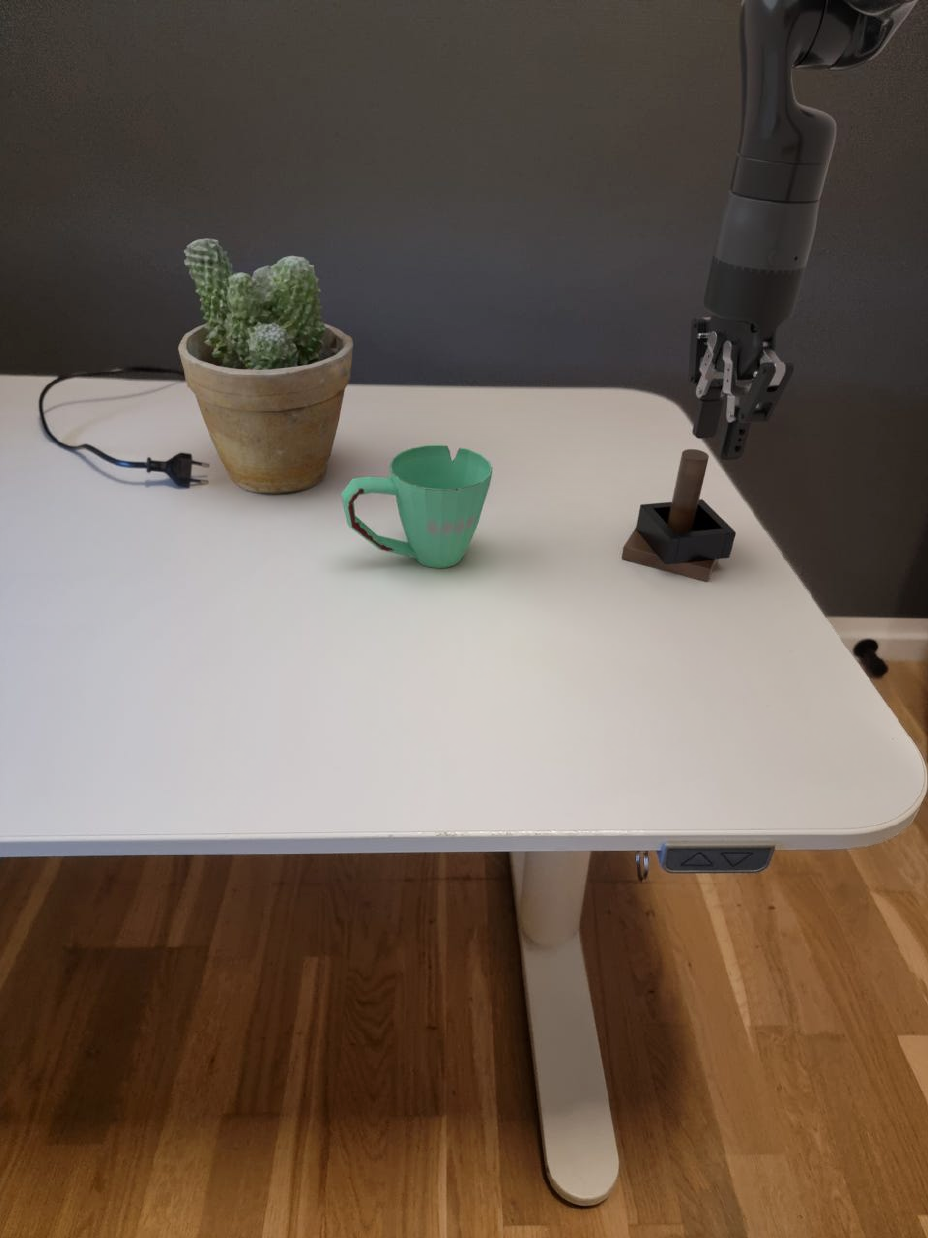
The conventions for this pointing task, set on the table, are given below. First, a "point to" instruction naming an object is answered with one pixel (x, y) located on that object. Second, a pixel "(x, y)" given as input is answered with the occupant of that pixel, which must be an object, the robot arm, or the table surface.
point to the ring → (685, 534)
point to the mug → (428, 502)
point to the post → (677, 519)
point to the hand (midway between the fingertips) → (715, 446)
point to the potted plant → (265, 369)
